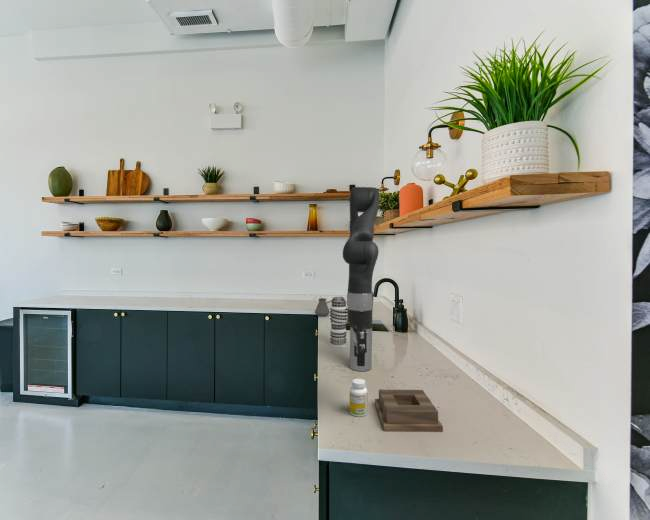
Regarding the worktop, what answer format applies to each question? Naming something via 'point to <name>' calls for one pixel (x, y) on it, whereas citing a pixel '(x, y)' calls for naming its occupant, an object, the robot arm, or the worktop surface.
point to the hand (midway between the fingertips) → (359, 360)
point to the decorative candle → (338, 322)
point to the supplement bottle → (358, 398)
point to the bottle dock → (407, 411)
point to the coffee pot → (322, 308)
